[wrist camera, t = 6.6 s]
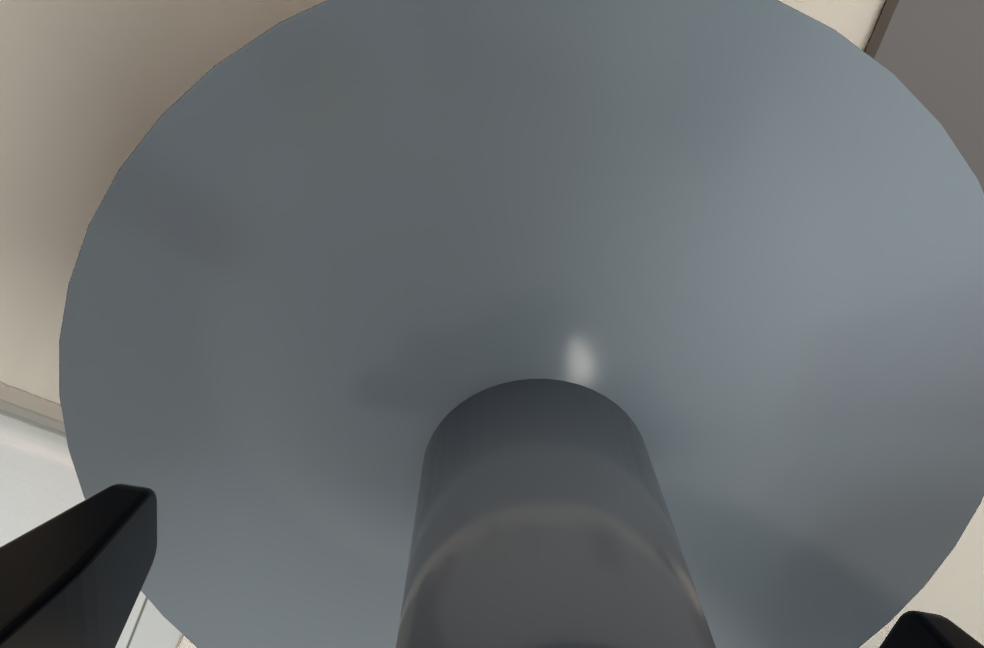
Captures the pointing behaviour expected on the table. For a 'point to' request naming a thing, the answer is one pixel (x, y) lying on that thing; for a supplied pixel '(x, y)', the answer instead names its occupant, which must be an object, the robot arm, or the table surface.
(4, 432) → the hard drive
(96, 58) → the table surface
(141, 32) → the table surface
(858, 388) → the lid
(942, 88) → the mat
